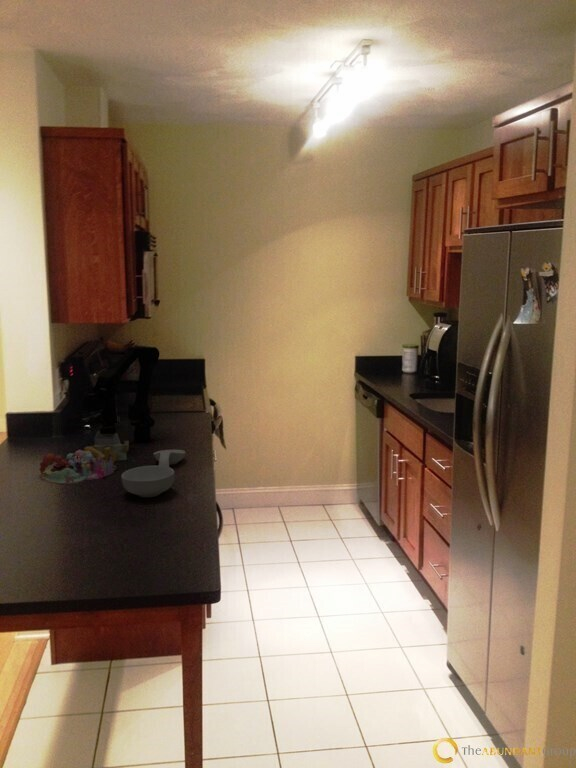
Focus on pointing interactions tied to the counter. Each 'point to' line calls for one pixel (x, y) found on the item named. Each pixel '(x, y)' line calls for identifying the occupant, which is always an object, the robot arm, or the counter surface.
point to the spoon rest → (169, 457)
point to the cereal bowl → (148, 480)
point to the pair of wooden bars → (115, 450)
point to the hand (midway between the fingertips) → (111, 445)
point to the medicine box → (106, 439)
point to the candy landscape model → (78, 466)
